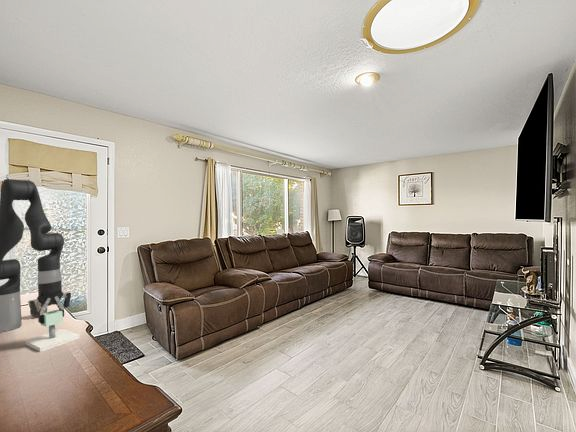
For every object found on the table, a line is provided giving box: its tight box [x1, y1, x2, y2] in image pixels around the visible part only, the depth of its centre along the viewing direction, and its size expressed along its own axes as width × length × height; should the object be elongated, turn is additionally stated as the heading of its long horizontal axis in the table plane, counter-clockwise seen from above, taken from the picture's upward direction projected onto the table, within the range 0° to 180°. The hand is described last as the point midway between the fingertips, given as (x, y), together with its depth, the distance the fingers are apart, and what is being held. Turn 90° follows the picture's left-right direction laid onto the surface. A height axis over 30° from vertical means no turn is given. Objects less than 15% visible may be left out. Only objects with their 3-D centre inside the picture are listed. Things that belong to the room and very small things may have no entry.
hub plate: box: [24, 324, 80, 353], centre depth 116 cm, size 16×13×7 cm
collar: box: [40, 309, 64, 328], centre depth 116 cm, size 6×6×4 cm
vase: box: [29, 301, 48, 319], centre depth 150 cm, size 7×7×9 cm
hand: (51, 320), depth 116 cm, fingers closed on collar, 5 cm apart
